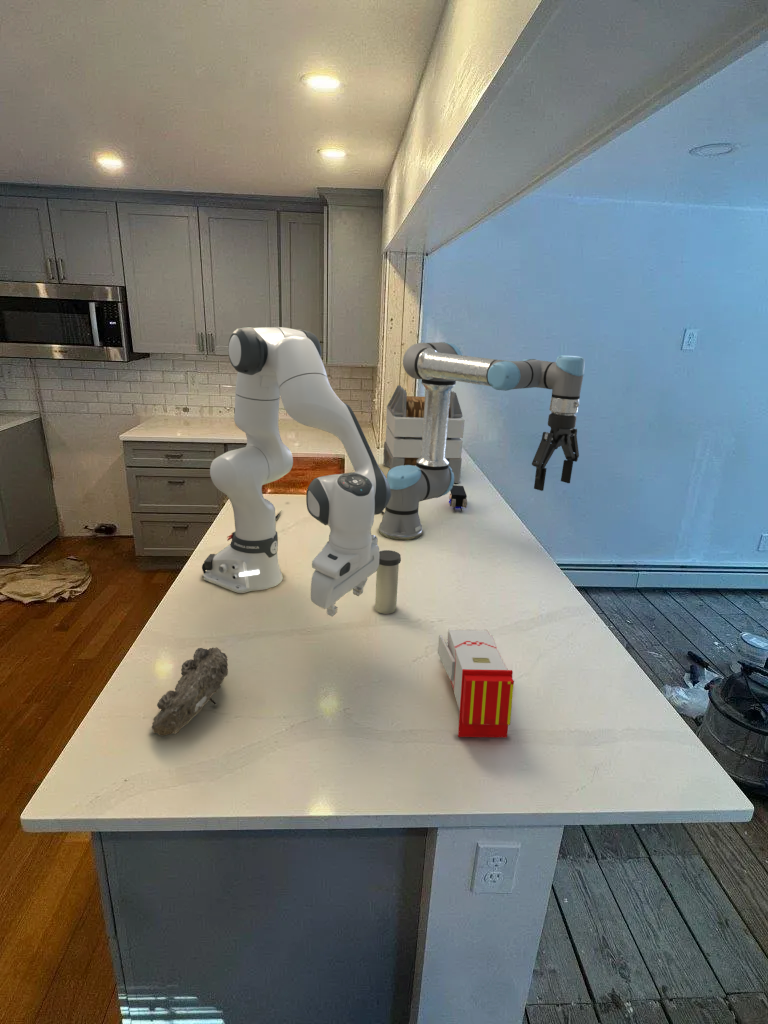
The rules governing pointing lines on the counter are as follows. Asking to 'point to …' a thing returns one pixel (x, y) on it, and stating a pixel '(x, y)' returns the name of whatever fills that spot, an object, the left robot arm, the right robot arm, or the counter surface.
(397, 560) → the lid
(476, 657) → the toy
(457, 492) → the figurine character
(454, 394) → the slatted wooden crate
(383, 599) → the jar
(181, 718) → the fossil
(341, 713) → the counter surface
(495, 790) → the counter surface
